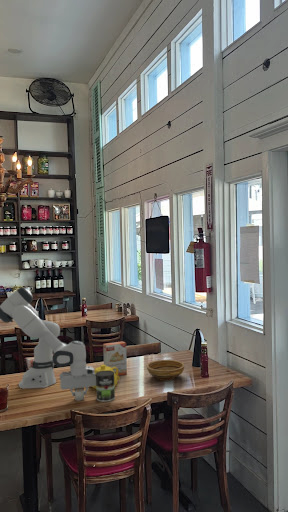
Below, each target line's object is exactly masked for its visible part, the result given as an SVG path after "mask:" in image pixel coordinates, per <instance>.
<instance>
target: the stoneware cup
mask: <svg viewBox="0 0 288 512" xmlns="http://www.w3.org/2000/svg"><path fill="white" fill-rule="evenodd" d="M73 390H74V391H73V392H75V396H74V400H75V401H76V402H77V401H83V400H85V395H84V391H85V387H81V388H73Z"/></svg>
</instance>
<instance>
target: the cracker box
mask: <svg viewBox="0 0 288 512" xmlns="http://www.w3.org/2000/svg"><path fill="white" fill-rule="evenodd" d="M102 345H103V348H102V349H103V365H106V366H108V367H111V368H112V367H116V368H118V376H119V377H120V376H124V375H125V376H126V375H127V374H128V368H127V365H128V364H127V363H128V362H127V360H128V359H127V343H126V342H125V341H116V342H108V343H103V344H102ZM113 371H114V372H115V374H116V369H113Z"/></svg>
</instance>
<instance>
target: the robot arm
mask: <svg viewBox="0 0 288 512" xmlns="http://www.w3.org/2000/svg"><path fill="white" fill-rule="evenodd" d="M33 300H34V297H33V293H32V292H31V291H30V290H29V289H28V288H25V287H19V288H17V290H16V291H14V292H13V293H12V294H10V295H9V296H8V297H7V298H6V299H5V300H3V302H2V303H1V304H0V321H1V322H4V323H8V324H9V323H13V322H15V324H16V325H17V326H18V328H20V330H21V331H22V332H23V333H25V335H27V336H28V337H29V338H33V339H38V343H37V345H36V346H35V347H34V349H33V356H34V357H33V360H30V368H28V369H27V370H26V371H25V373H23V375H22V379H21V380H20V382H19V383H18V388H19V387H20V389H21V388H22V390H23V389H24V388H26V389H40V388H41V389H45V388H48V387H49V386H53V385H54V384H56V382H57V379H56V377H55V376H56V375H55V371H54V368H55V366H56V367H58V368H59V367H60V368H61V367H67V366H69V367H70V368H69V370H70V371H69V370H68V371H62V372H61V373H60V374H59V380H60V389H61V390H63V391H64V390H70V393H71V396H72V397H75V391H73V390H74V388H81V387H84V388H85V389H84V396H85V395H87V394H88V393H87V392H88V391H89V387H92V386H96V374H95V368H94V367H93V366H90V365H87V362H86V359H87V351H86V345H85V343H84V342H83V341H80V340H72V341H70V342H69V343H68V344H67V343H66V342H63V341H61V340H60V339H59V338H58V337H59V336H60V333H61V328H60V325H59V324H58V323H56V322H53V321H50V320H44V319H41V318H40V317H39V312H38V311H37V310H36V309H35V308H34V307H33V306H32V304H31V303H32V301H33Z"/></svg>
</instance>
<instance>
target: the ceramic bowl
mask: <svg viewBox="0 0 288 512" xmlns="http://www.w3.org/2000/svg"><path fill="white" fill-rule="evenodd" d="M185 366H186V364H185V363H184V362H182V361H180V360H173V359H158V360H154V361H150V362H148V363H147V364H146V365H145V367H146V370H147V372H148V374H150V376H153V377H154V378H156V379H157V378H158V380H159V379H160V381H171V380H174V379H176V377H178V376H180V375H182V373H183V372H184V370H185Z"/></svg>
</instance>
